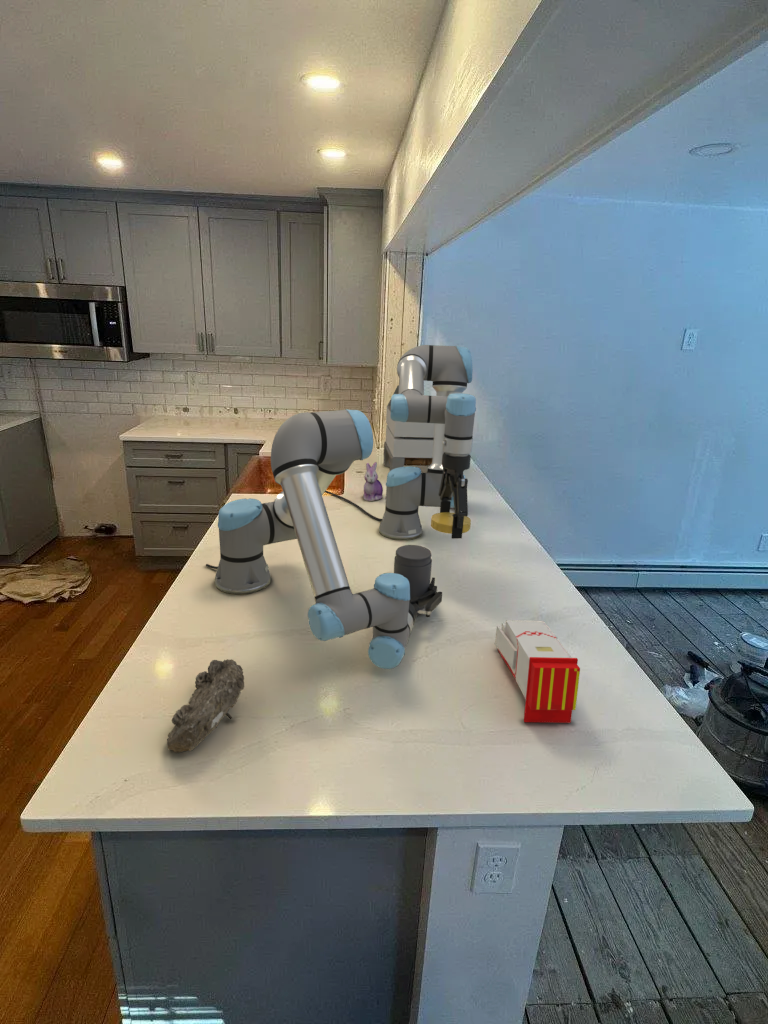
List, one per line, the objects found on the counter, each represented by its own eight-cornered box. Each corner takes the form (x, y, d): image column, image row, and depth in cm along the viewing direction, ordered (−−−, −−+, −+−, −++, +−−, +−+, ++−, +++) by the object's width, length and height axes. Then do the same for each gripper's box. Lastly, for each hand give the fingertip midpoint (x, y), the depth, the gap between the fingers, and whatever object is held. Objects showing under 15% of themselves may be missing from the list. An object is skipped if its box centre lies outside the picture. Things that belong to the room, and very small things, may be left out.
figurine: (367, 502, 230) (368, 467, 225) (357, 495, 238) (358, 460, 233) (388, 500, 234) (389, 465, 229) (377, 492, 242) (378, 458, 237)
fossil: (192, 660, 117) (244, 628, 112) (224, 691, 120) (276, 661, 115) (142, 746, 98) (202, 712, 93) (182, 779, 101) (242, 748, 96)
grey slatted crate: (382, 463, 289) (386, 382, 275) (445, 464, 293) (451, 384, 279) (390, 482, 257) (394, 392, 243) (460, 483, 261) (468, 394, 247)
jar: (384, 604, 152) (387, 550, 146) (410, 594, 158) (413, 541, 152) (409, 619, 145) (413, 562, 140) (435, 608, 151) (440, 553, 146)
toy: (541, 605, 135) (589, 664, 106) (536, 657, 138) (581, 729, 108) (490, 604, 135) (524, 663, 105) (486, 656, 137) (518, 728, 108)
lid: (467, 536, 151) (468, 528, 150) (426, 530, 154) (427, 522, 153) (472, 523, 161) (473, 515, 160) (434, 517, 164) (435, 510, 163)
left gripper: (351, 627, 136) (373, 586, 157) (444, 641, 132) (454, 597, 153) (352, 599, 134) (374, 561, 154) (447, 613, 129) (456, 572, 150)
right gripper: (431, 443, 161) (425, 516, 168) (457, 464, 139) (449, 547, 146) (456, 443, 162) (450, 515, 169) (486, 464, 141) (477, 546, 148)
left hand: (414, 579), depth 153 cm, fingers closed on jar, 10 cm apart
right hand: (450, 530), depth 158 cm, fingers closed on lid, 11 cm apart
